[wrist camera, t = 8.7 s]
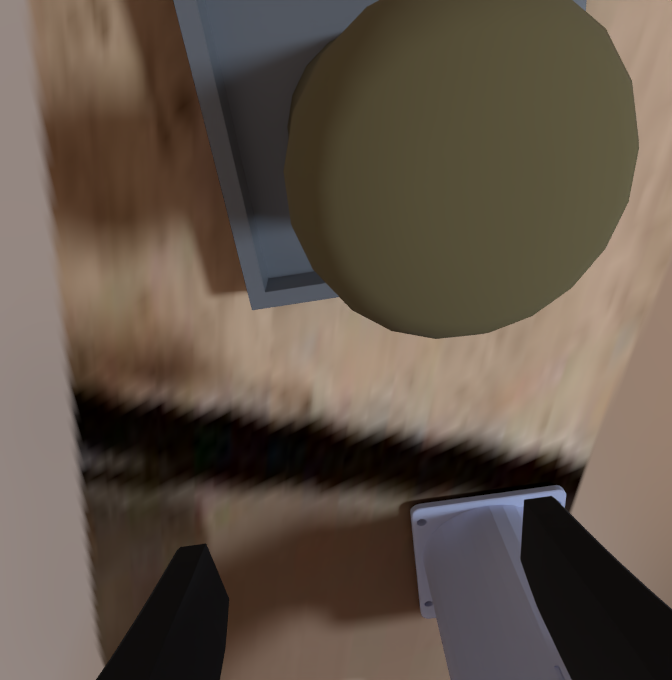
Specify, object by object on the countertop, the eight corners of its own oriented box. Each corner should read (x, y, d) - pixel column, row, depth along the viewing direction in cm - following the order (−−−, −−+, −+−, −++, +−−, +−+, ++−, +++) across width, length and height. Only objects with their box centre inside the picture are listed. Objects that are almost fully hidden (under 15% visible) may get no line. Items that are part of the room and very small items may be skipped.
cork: (288, 15, 14) (230, -154, 4) (485, 31, 14) (841, -93, 5) (286, 218, 17) (248, 393, 7) (451, 227, 17) (629, 403, 8)
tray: (539, 246, 18) (563, 262, 17) (258, 289, 19) (252, 310, 17) (562, -142, 13) (602, -178, 11) (170, -71, 13) (148, -96, 12)
